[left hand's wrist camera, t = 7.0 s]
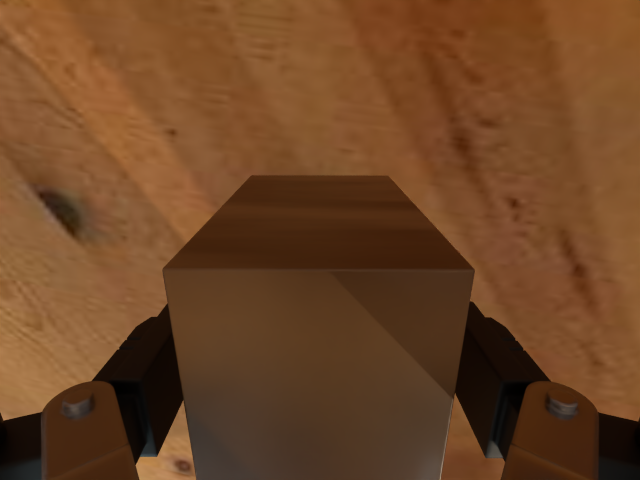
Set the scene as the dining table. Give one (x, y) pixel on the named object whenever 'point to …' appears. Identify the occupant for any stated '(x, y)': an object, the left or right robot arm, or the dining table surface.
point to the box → (318, 333)
